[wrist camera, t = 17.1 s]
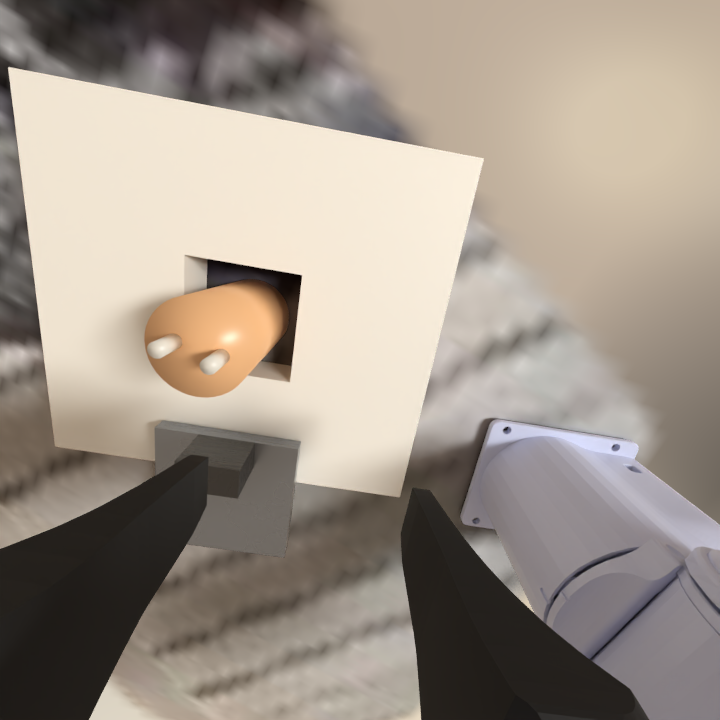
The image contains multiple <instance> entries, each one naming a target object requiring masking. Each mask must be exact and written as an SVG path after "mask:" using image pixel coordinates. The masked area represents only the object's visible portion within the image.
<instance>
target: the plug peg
mask: <svg viewBox="0 0 720 720" xmlns="http://www.w3.org/2000/svg"><path fill="white" fill-rule="evenodd" d="M288 324H289V310H288V306H287V303H286V301H285V299H284V298H283V296H282V295H281V293H280V292H279V291H278V290H277V289H276V288H275V287H273V286H272V285H270V284H268V283H266V282H264V281H261V280H257V279H245V280H241V281H237V282H233V283H229V284H225V285H221V286H217V287H213V288H210V289H206V290H202V291H198V292H194V293H190V294H186V295H182V296H179V297H175V298H172V299H170V300H167V301H166V302H164V303H163V304H161V305H160V306H159V307H158V308H156V310H155V311H154V312H153V313H152V315H151V316H150V318H149V320H148V322H147V325H146V329H145V336H144V342H145V349H146V353H147V356H148V359H149V361H150V363H151V365H152V367H153V368H154V370H155V371H156V373H157V374H158V375H159V376H160V377H161V378H162V379H163V380H164V381H165V382H166V383H167V384H169V385H170V386H171V387H173V388H174V389H176V390H178V391H180V392H182V393H185V394H187V395H191V396H195V397H207V398H209V397H216V396H220V395H223V394H226V393H228V392H230V391H232V390H233V389H235V388H236V387H237V386H238V385H239V384H240V383H241V382H242V381H243V380H244V379H245V378H246V377H247V376H248V374H249V373H250V372H251V371H252V370H253V369H254V368H255V367H256V366H257V364H258V363H259V362H260V361H261V360H262V359H263V358H264V357H265V356H266V355H267V353H268V352H269V351H270V350H271V349H272V348H273V347H274V346H275V345H276V343H277V342H278V341H279V340H280V339H281V338H282V337H283V335H284V334H285V332H286V330H287V327H288Z"/></svg>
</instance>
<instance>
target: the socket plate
mask: <svg viewBox="0 0 720 720" xmlns="http://www.w3.org/2000/svg"><path fill="white" fill-rule="evenodd" d="M8 70H9V78H10V86H11V94H12V102H13V110H14V119H15V127H16V135H17V143H18V151H19V159H20V167H21V175H22V183H23V192H24V200H25V208H26V216H27V224H28V232H29V240H30V248H31V256H32V265H33V273H34V281H35V289H36V297H37V305H38V313H39V321H40V330H41V338H42V346H43V354H44V362H45V370H46V378H47V386H48V394H49V403H50V411H51V419H52V427H53V435H54V443H55V447H61V448H67V449H74V450H81V451H88V452H94V453H101V454H108V455H115V456H122V457H128V458H135V459H142V460H149V461H155V429H154V427H156V426H157V425H158V424H159V423H160V422H162V421H163V420H165V421H171V422H178V423H184V424H191V425H197V426H204V427H210V428H217V429H224V430H230V431H237V432H243V433H250V434H256V435H263V436H269V437H276V438H282V439H289V440H296V441H301V446H300V453H299V461H298V468H297V476H296V482H298V483H305V484H311V485H318V486H325V487H332V488H339V489H345V490H352V491H359V492H366V493H372V494H379V495H386V496H393V497H400V494H401V490H402V486H403V482H404V478H405V474H406V470H407V466H408V462H409V458H410V454H411V450H412V446H413V442H414V438H415V434H416V430H417V426H418V422H419V418H420V414H421V410H422V406H423V402H424V397H425V393H426V389H427V385H428V381H429V377H430V373H431V369H432V365H433V361H434V357H435V353H436V349H437V345H438V341H439V337H440V333H441V329H442V325H443V321H444V317H445V313H446V309H447V305H448V301H449V297H450V293H451V289H452V285H453V281H454V277H455V273H456V269H457V265H458V261H459V257H460V253H461V248H462V244H463V240H464V236H465V232H466V228H467V224H468V220H469V216H470V212H471V208H472V204H473V200H474V196H475V192H476V188H477V184H478V180H479V176H480V172H481V168H482V164H483V160H484V159H483V158H478V157H473V156H467V155H462V154H457V153H452V152H447V151H442V150H436V149H431V148H426V147H421V146H416V145H410V144H405V143H400V142H395V141H390V140H384V139H379V138H374V137H369V136H364V135H359V134H353V133H348V132H343V131H338V130H333V129H327V128H322V127H317V126H312V125H307V124H301V123H296V122H291V121H286V120H281V119H275V118H270V117H265V116H260V115H255V114H249V113H244V112H239V111H234V110H229V109H223V108H218V107H213V106H208V105H203V104H197V103H192V102H187V101H182V100H177V99H171V98H166V97H161V96H156V95H151V94H145V93H140V92H135V91H130V90H125V89H119V88H114V87H109V86H104V85H99V84H94V83H88V82H83V81H78V80H73V79H68V78H62V77H57V76H52V75H47V74H42V73H36V72H31V71H26V70H21V69H16V68H10V67H8ZM207 259H212V260H218V261H223V262H229V263H235V264H241V265H246V266H252V267H258V268H264V269H269V270H275V271H281V272H287V273H292V274H298V275H302V281H301V290H300V299H299V307H298V316H297V325H296V334H295V343H294V351H293V360H292V366H289V365H283V364H277V363H271V362H264V361H260V362H259V363H258V364H257V366H256V367H255V368H254V369H253V370H252V371H251V372H250V373H249V374H248V376H247V377H246V378H245V379H244V380H243V381H242V382H241V383H240V384H239V385H238V386H237V387H236V388H235V389H233V390H232V391H230V392H228V393H226V394H223V395H220V396H216V397H209V398H207V397H195V396H191V395H187V394H185V393H182V392H180V391H178V390H176V389H174V388H173V387H171V386H170V385H169V384H167V383H166V382H165V381H164V380H163V379H162V378H161V377H160V376H159V375H158V374H157V373H156V371H155V370H154V368H153V367H152V365H151V363H150V361H149V359H148V356H147V353H146V349H145V342H144V336H145V329H146V325H147V322H148V320H149V318H150V316H151V315H152V313H153V312H154V311H155V310H156V308H158V307H159V306H160V305H161V304H163V303H164V302H166V301H167V300H170V299H172V298H175V297H179V296H182V295H186V294H190V293H194V292H198V291H202V290H206V289H207Z"/></svg>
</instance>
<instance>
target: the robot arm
mask: <svg viewBox="0 0 720 720" xmlns="http://www.w3.org/2000/svg"><path fill="white" fill-rule="evenodd" d="M505 427H509V428H508V430H506V431H503V429H504V428H505ZM613 445H615V446H614V447H612V446H613ZM638 449H639V447H638V445H637V444H636V443H635V442H633V441H631V440H626V439H619V438H613V437H607V436H600V435H594V434H588V433H582V432H575V431H569V430H563V429H557V428H550V427H544V426H538V425H531V424H525V423H519V422H513V421H506V420H500V419H496V420H494V421H492V422H491V423H490V425H489V428H488V431H487V434H486V437H485V440H484V443H483V446H482V450H481V453H480V456H479V459H478V462H477V465H476V468H475V471H474V475H473V478H472V481H471V484H470V487H469V490H468V493H467V496H466V499H465V503H464V506H463V509H462V512H461V515H460V518H461V521H462V523H463V524H465V525H469V526H476V527H483V528H490V529H495V531H496V533H497V535H498V537H499V539H500V541H501V543H502V545H503V548H504V550H505V552H506V554H507V556H508V558H509V560H510V562H511V564H512V567H513V569H514V571H515V573H516V575H517V577H518V579H519V581H520V583H521V586H522V588H523V590H524V592H525V594H526V596H527V598H528V600H529V603H530V605H531V607H532V609H533V611H534V613H535V614H534V613H533V612H532V611H531V610H530V609H529V608H527V606H526V605H525V604H523V603H522V602H521V601H520V600H519V599H518V598H517V597H516V596H515V595H514V594H513V593H512V592H511V591H510V590H509V589H508V588H507V587H506V586H505V585H504V584H503V583H502V582H501V581H500V580H499V578H498V577H497V576H496V575H495V574H494V573H493V572H492V571H491V570H490V569H489V568H488V567H487V565H486V564H485V563H484V562H483V561H482V560H481V558H480V557H479V556H478V555H477V554H476V552H475V551H474V550H473V549H472V548H471V546H470V545H469V544H468V543H467V541H466V540H465V539H464V538H463V536H462V535H461V534H460V532H459V531H458V530H457V528H456V527H455V526H454V524H453V523H452V521H451V520H450V519H449V517H448V516H447V514H446V513H445V512H444V510H443V509H442V507H441V506H440V504H439V503H438V501H437V500H436V499H435V497H434V496H433V494H432V493H431V491H430V490H424V489H418V488H413V489H412V493H411V496H410V500H409V504H408V508H407V512H406V516H405V519H404V523H403V527H402V531H401V548H402V564H403V571H404V577H405V583H406V589H407V595H408V601H409V607H410V613H411V619H412V625H413V631H414V638H415V646H416V654H417V666H418V679H419V691H420V706H421V720H720V525H719V524H718V523H716V522H715V521H714V520H712V519H711V518H710V517H709V516H707V515H706V514H705V513H704V512H702V511H701V510H700V509H698V508H697V507H696V506H694V505H693V504H692V503H690V502H689V501H688V500H687V499H685V498H684V497H683V496H681V495H680V494H679V493H677V492H676V491H675V490H673V489H672V488H671V487H670V486H668V485H667V484H666V483H664V482H663V481H662V480H660V479H659V478H658V477H657V476H655V475H654V474H653V473H651V472H650V471H649V470H648V469H646V468H645V467H644V466H642V465H641V464H640V463H638V462H637V461H636V460H635V459H634V458H635V456H636V454H637V452H638ZM208 461H209V457H205V456H198V455H192V454H191V455H189V456H187V457H186V458H184V459H182V460H180V461H179V462H177V463H176V464H174V465H172V466H171V467H169V468H167V469H166V470H164V471H162V472H161V473H159V474H157V475H156V476H154V477H152V478H151V479H149V480H147V481H146V482H144V483H142V484H141V485H139V486H137V487H135V488H134V489H132V490H130V491H128V492H126V493H124V494H122V495H121V496H119V497H117V498H115V499H113V500H111V501H110V502H108V503H106V504H104V505H102V506H100V507H98V508H96V509H94V510H92V511H90V512H88V513H86V514H84V515H82V516H80V517H77V518H75V519H73V520H71V521H69V522H66V523H64V524H62V525H60V526H57V527H55V528H53V529H50V530H48V531H45V532H43V533H40V534H38V535H35V536H33V537H30V538H28V539H25V540H23V541H20V542H18V543H15V544H13V545H10V546H7V547H5V548H2V549H0V720H89V718H90V716H91V714H92V712H93V710H94V708H95V706H96V704H97V702H98V699H99V698H100V696H101V693H102V692H103V690H104V688H105V686H106V684H107V682H108V680H109V678H110V676H111V674H112V672H113V670H114V668H115V666H116V664H117V662H118V660H119V658H120V656H121V654H122V652H123V650H124V648H125V646H126V644H127V643H128V641H129V639H130V637H131V635H132V633H133V631H134V629H135V627H136V625H137V624H138V622H139V620H140V618H141V616H142V614H143V613H144V611H145V609H146V608H147V606H148V604H149V603H150V601H151V599H152V598H153V596H154V595H155V593H156V591H157V590H158V588H159V587H160V585H161V584H162V582H163V580H164V579H165V577H166V576H167V574H168V573H169V571H170V570H171V568H172V566H173V565H174V563H175V562H176V560H177V559H178V557H179V555H180V554H181V552H182V551H183V549H184V548H185V546H186V544H187V543H188V541H189V540H190V538H191V536H192V535H193V533H194V531H195V529H196V527H197V525H198V523H199V521H200V519H201V517H202V514H203V512H204V510H205V508H206V506H207V487H208ZM474 518H477V519H476V520H473V519H474Z"/></svg>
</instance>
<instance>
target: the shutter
mask: <svg viewBox="0 0 720 720" xmlns="http://www.w3.org/2000/svg"><path fill="white" fill-rule="evenodd" d="M154 429H155V476H156V475H157V474H159V473H161V472H162V471H164V470H166V469H167V468H169V467H171V466H172V465H174V464H176V463H177V462H179V461H180V460H182V459H184V458H186V457H187V456H189V455H191V454H192V455H198V456H205V457H209V461H208V487H207V506H206V508H205V510H204V512H203V514H202V517H201V519H200V521H199V523H198V525H197V527H196V529H195V531H194V533H193V535H192V536H191V538H190V540H189V541H188V543H187V544H189V545H196V546H203V547H210V548H218V549H225V550H232V551H239V552H247V553H254V554H261V555H268V556H276V557H283V558H284V557H285V553H286V549H287V544H288V537H289V529H290V521H291V514H292V506H293V499H294V491H295V483H296V476H297V468H298V461H299V453H300V446H301V441H296V440H289V439H282V438H276V437H269V436H263V435H256V434H250V433H243V432H237V431H230V430H224V429H217V428H210V427H204V426H197V425H191V424H184V423H178V422H171V421H165V420H163V421H162V422H160V423H159V424H158V425H157V426H156V427H154Z"/></svg>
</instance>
